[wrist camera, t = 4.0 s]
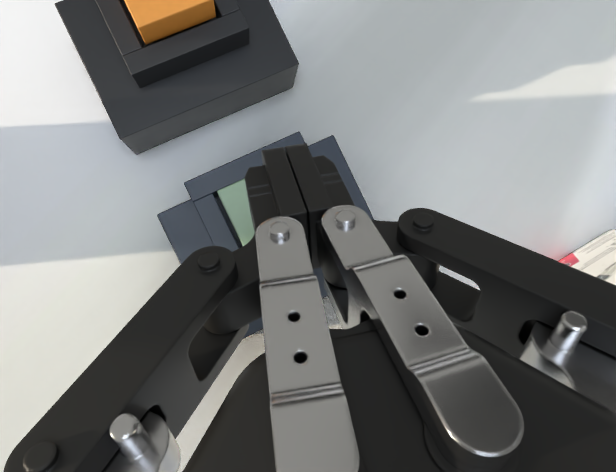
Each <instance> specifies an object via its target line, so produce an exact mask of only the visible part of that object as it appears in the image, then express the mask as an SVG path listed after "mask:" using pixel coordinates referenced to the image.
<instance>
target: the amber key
mask: <svg viewBox="0 0 616 472" xmlns="http://www.w3.org/2000/svg"><path fill="white" fill-rule="evenodd" d="M124 1H125V3H126V5H127V7H128V9H129V11H130V13H131V15H132V18H133V20H134V22H135V24H136V26H137V28H138V30H139V32H140V34H141V36H142V38H143V40H144V42H145V44H149V43H152V42H154V41H157V40H159V39H162V38H164V37H167V36H170V35H172V34H175V33H177V32H180V31H182V30H185V29H187V28H190V27H192V26H195V25H197V24H200V23H203V22H205V21H208V20H210V19H213V18H215V17H216V14H215V6H214V0H124Z"/></svg>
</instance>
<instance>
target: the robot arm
mask: <svg viewBox="0 0 616 472" xmlns="http://www.w3.org/2000/svg"><path fill="white" fill-rule="evenodd" d="M261 153H262V162H263V165H262V166H256V167H250V168H248V171H247V173H246V175H245V177H244V178H245V184H246V190H247V196H248V202H249V208H250V213H251V218H252V223H253V227H254V232H255V233H254V236H253V238H252V239H251V240H250V241H249V242H248V243H247V244H246V245H244V246H243V247H241V248H239V249H237V250H235V251H233V252H231V251H230V250H229V249H227V248H225V247H221V246H207V247H203V248H201V249H198V250H196V251H194V252H193V253H192V254H190V255H189V256H188V257H187V258H186V260H185V261H184V262H183V263H182V264H181V265H180V266H179V267H178V268H177V270H176V271H175V272H174V273H173V274H172V275H171V276H170V277H169V278H168V279H167V281H166V282H165V283H164V284H163V285H162V286H161V287H160V288H159V289H158V290H157V292H156V293H155V294H154V295H153V296H152V297H151V298H150V299H149V300H148V301H147V303H146V304H145V305H144V306H143V307H142V308H141V309H140V310H139V311H138V312H137V314H136V315H135V316H134V317H133V318H132V319H131V320H130V321H129V322H128V324H127V325H126V326H125V327H124V328H123V329H122V330H121V331H120V332H119V333H118V335H117V336H116V337H115V338H114V339H113V340H112V341H111V342H110V343H109V344H108V346H107V347H106V348H105V349H104V350H103V351H102V352H101V353H100V354H99V355H98V357H97V358H96V359H95V360H94V361H93V362H92V363H91V364H90V365H89V366H88V368H87V369H86V370H85V371H84V372H83V373H82V374H81V375H80V376H79V377H78V379H77V380H76V381H75V382H74V383H73V384H72V385H71V386H70V387H69V389H68V390H67V391H66V392H65V393H64V394H63V395H62V396H61V397H60V398H59V400H58V401H57V402H56V403H55V404H54V405H53V406H52V407H51V408H50V409H49V411H48V412H47V413H46V414H45V415H44V416H43V417H42V418H41V419H40V420H39V422H38V423H37V424H36V425H35V426H34V427H33V428H32V429H31V430H30V431H29V433H28V434H27V435H26V436H25V437H24V438H23V439H22V440H21V441H20V443H19V444H18V445H17V446H16V447H15V448H14V450H13V451H12V453H11V454H10V456H9V458H8V460H7V462H6V465H5V468H4V472H177V471H178V469H179V466H180V461H181V452H180V448H179V445H178V443H177V441H176V440H175V439H176V438H177V436H178V435H179V433H180V432H181V430H182V429H183V427H184V426H185V424H186V423H187V421H188V420H189V418H190V417H191V415H192V414H193V412H194V411H195V409H196V408H197V406H198V405H199V403H200V402H201V400H202V399H203V397H204V396H205V394H206V393H207V391H208V390H209V388H210V387H211V385H212V384H213V382H214V381H215V379H216V378H217V376H218V375H219V373H220V372H221V370H222V369H223V367H224V366H225V364H226V363H227V361H228V360H229V358H230V357H231V355H232V354H233V352H234V351H235V349H236V348H237V346H238V345H239V343H240V342H241V340H242V339H243V337H244V336H245V334H246V332H247V331H248V328H249V323H251V322H253V321H255V320H257V319H259V318H261V317H262V321H263V331H264V342H265V353H263V354H262V355H260V356H259V357H257V358H256V359H255V360H254V361H252V362H251V363H250V364H249V365H248V366H247V367H246V368H245V369H244V370H243V372H242V373H241V374H240V375H239V377H238V378H237V380H236V381H235V383H234V385H233V386H232V388H231V390H230V391H229V393H228V395H227V397H226V398H225V400H224V402H223V403H222V405H221V407H220V409H219V410H218V412H217V414H216V415H215V417H214V419H213V421H212V422H211V424H210V426H209V427H208V429H207V431H206V433H205V434H204V436H203V438H202V439H201V441H200V443H199V445H198V446H197V448H196V450H195V451H194V453H193V455H192V457H191V458H190V460H189V462H188V463H187V465H186V467H185V469H184V470H183V472H616V285H614V284H612V283H609V282H607V281H604V280H602V279H600V278H597V277H595V276H592V275H590V274H587V273H585V272H582V271H580V270H578V269H575V268H573V267H570V266H568V265H565V264H563V263H560V262H558V261H556V260H553V259H551V258H548V257H546V256H543V255H541V254H538V253H536V252H534V251H531V250H529V249H526V248H524V247H521V246H519V245H516V244H514V243H512V242H509V241H507V240H504V239H502V238H499V237H497V236H495V235H492V234H490V233H487V232H485V231H482V230H480V229H477V228H475V227H473V226H470V225H468V224H465V223H463V222H460V221H458V220H455V219H453V218H451V217H448V216H446V215H443V214H441V213H438V212H436V211H433V210H430V209H425V208H415V209H410V210H407V211H406V212H404V213H403V214H401V216H400V217H399V220H398V222H389V221H377V220H373V219H370V217H369V216H368V214H367V213H366V212H365V211H364V210H362V209H361V208H358V207H356V206H355V204H354V202H353V200H352V198H351V196H350V194H349V192H348V190H347V188H346V186H345V184H344V182H343V181H342V178H341V176H340V174H339V173H338V170H337V168H336V166H335V164H334V162H332V161H331V160H329V159H328V158H327V157H325V156H324V155H322V156H316V157H312V155H311V153H310V151H309V148H308V146H307V144H306V143H303V144H297V145H291V146H285V147H284V148H283V147H279V148H273V149H266V150H261ZM440 265H441V266H443V267H445V268H447V269H449V270H452V271H454V272H456V273H458V274H460V275H462V276H464V277H467V278H469V279H471V280H472V281H474V282H475V283H476V284H477V285H478V286H479V288H480V290H477V289H475V288H473V287H471V286H469V285H467V284H465V283H463V282H461V281H459V280H457V279H454V278H452V277H450V276H448V275H446V274H444V273H442V272H440V271H439V266H440ZM320 267H321V269H322V272H323V279H324V288H325V290H326V293H327V295H328V297H329V299H330V302H331V304H332V306H333V308H334V310H335V313H336V315H337V317H338V319H339V322H340V324H341V326H342V328H343V329H329V327H328V323H327V319H326V314H325V310H324V305H323V301H322V297H321V292H320V288H319V283H318V279H317V276H316V275H314V273H313V269H315V268H320Z"/></svg>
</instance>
